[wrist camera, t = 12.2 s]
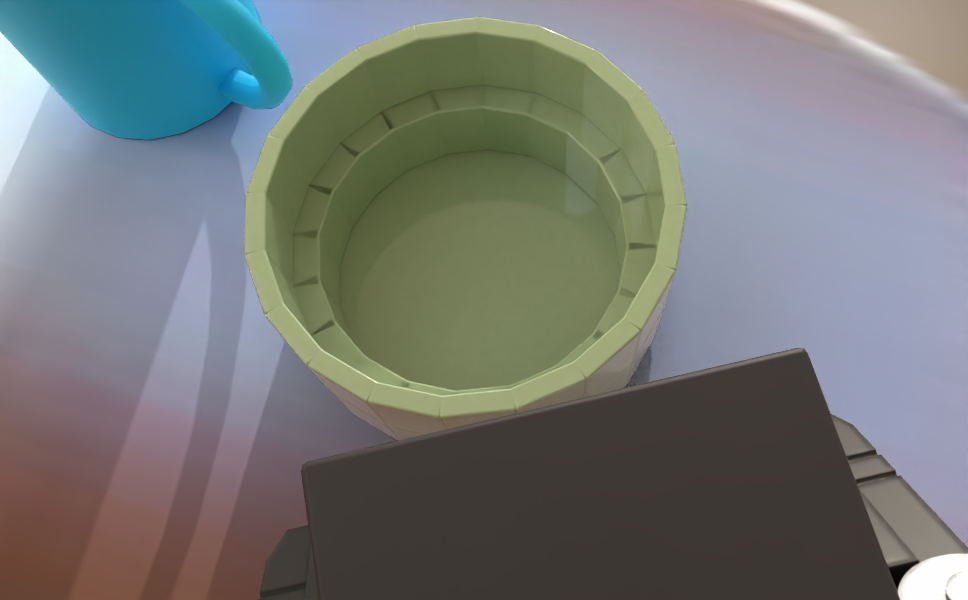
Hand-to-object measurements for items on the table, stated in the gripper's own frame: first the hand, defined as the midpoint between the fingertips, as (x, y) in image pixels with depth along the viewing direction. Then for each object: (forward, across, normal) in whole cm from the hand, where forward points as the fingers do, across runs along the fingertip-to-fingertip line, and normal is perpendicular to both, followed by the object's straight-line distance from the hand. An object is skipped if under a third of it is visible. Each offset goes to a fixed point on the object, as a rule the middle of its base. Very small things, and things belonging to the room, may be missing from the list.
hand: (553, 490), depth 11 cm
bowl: (+18, 0, +4) cm, 18 cm away
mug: (+26, +9, -4) cm, 28 cm away
